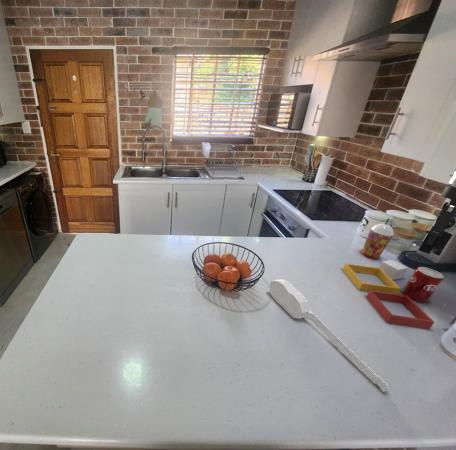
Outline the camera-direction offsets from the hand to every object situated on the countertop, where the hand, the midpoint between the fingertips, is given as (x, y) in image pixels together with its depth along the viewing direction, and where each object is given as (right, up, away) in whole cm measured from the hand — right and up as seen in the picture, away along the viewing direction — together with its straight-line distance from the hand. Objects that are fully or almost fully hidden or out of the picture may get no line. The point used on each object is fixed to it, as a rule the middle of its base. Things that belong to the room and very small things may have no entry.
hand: (428, 245), depth 85 cm
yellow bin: (-8, -16, +15) cm, 24 cm away
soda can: (+4, -21, +9) cm, 22 cm away
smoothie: (+9, -8, +34) cm, 36 cm away
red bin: (-11, -24, +1) cm, 26 cm away
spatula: (-45, -27, -8) cm, 54 cm away
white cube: (+5, -15, +20) cm, 25 cm away
